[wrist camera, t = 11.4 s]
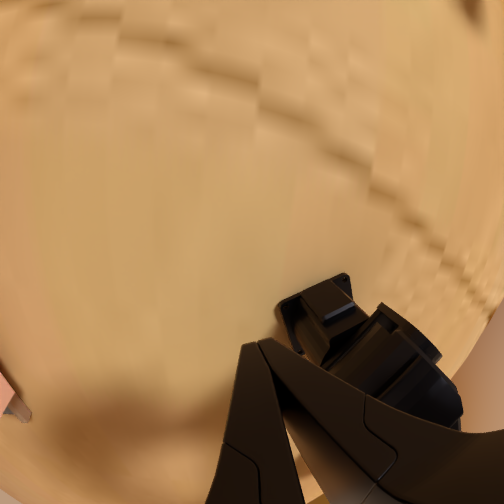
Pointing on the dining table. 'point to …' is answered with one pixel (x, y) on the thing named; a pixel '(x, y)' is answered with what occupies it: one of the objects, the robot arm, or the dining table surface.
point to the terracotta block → (4, 394)
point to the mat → (18, 408)
